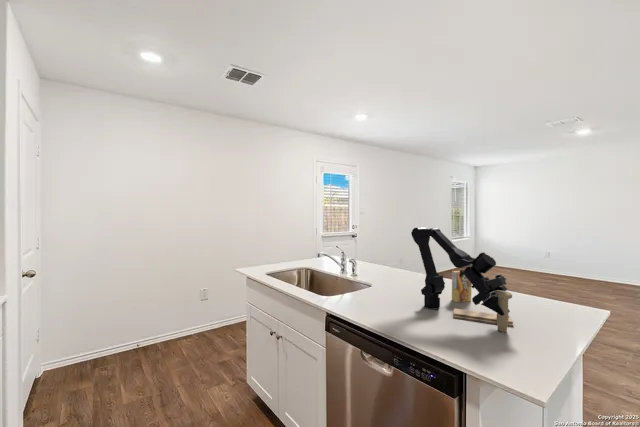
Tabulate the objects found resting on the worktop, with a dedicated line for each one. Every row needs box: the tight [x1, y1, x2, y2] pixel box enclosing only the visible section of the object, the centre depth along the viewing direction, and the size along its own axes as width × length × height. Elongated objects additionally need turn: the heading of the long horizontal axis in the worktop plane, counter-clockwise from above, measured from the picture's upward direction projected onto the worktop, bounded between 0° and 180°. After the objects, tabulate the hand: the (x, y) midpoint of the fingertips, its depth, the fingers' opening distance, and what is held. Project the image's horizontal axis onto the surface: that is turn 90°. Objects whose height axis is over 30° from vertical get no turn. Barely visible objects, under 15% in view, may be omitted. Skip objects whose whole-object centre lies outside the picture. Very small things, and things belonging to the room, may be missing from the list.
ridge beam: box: [452, 308, 514, 328], centre depth 128 cm, size 22×10×2 cm, turn 64°
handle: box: [495, 290, 513, 333], centre depth 115 cm, size 5×6×15 cm
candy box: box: [451, 270, 473, 303], centre depth 152 cm, size 9×4×15 cm, turn 103°
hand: (506, 313), depth 114 cm, fingers open, 4 cm apart
